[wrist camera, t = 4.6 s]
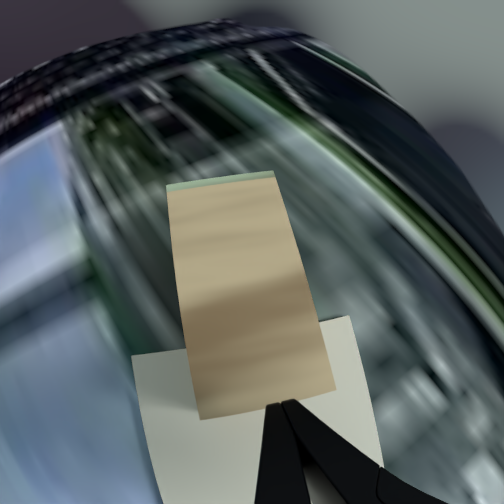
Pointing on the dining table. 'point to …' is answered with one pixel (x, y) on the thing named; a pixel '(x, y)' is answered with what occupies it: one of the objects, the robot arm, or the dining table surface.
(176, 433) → the stone tile
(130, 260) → the dining table surface
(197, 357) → the beech block
